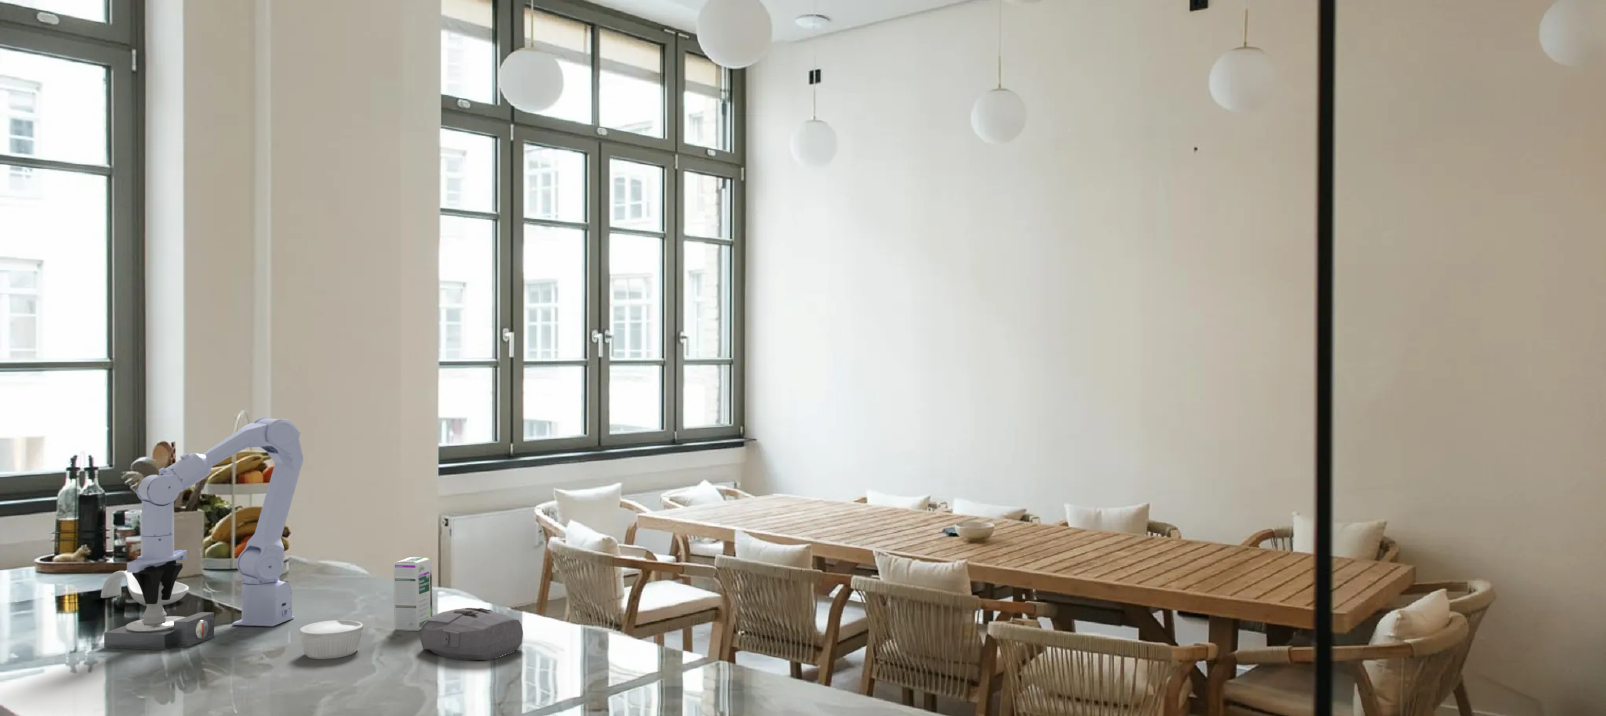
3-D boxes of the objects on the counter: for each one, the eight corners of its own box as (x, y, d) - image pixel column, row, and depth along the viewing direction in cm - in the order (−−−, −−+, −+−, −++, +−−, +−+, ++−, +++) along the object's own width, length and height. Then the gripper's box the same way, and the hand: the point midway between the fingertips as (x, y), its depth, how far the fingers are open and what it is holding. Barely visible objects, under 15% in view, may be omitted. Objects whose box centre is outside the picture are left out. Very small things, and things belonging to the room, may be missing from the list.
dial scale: (224, 634, 227) (224, 609, 227) (180, 650, 214) (180, 625, 214) (151, 631, 229) (151, 607, 229) (104, 647, 216) (104, 622, 216)
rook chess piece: (149, 620, 224) (148, 580, 224) (171, 619, 224) (171, 580, 224) (137, 625, 220) (137, 585, 220) (160, 625, 220) (160, 585, 220)
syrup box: (418, 631, 229) (418, 562, 229) (392, 630, 231) (393, 561, 231) (433, 624, 235) (433, 557, 235) (408, 623, 236) (408, 556, 236)
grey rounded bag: (532, 648, 217) (460, 636, 226) (533, 606, 217) (460, 595, 226) (475, 667, 203) (401, 653, 213) (475, 622, 203) (401, 610, 213)
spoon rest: (199, 601, 258) (199, 571, 258) (152, 612, 248) (152, 580, 248) (132, 593, 268) (132, 563, 268) (84, 603, 257) (84, 572, 257)
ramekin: (375, 648, 216) (375, 622, 216) (333, 663, 206) (333, 635, 206) (329, 643, 220) (329, 617, 220) (286, 658, 209) (286, 630, 209)
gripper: (165, 528, 230) (165, 593, 230) (112, 540, 215) (112, 609, 215) (196, 529, 229) (196, 594, 229) (145, 540, 214) (145, 610, 214)
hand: (157, 601), depth 222 cm, fingers closed on rook chess piece, 3 cm apart
